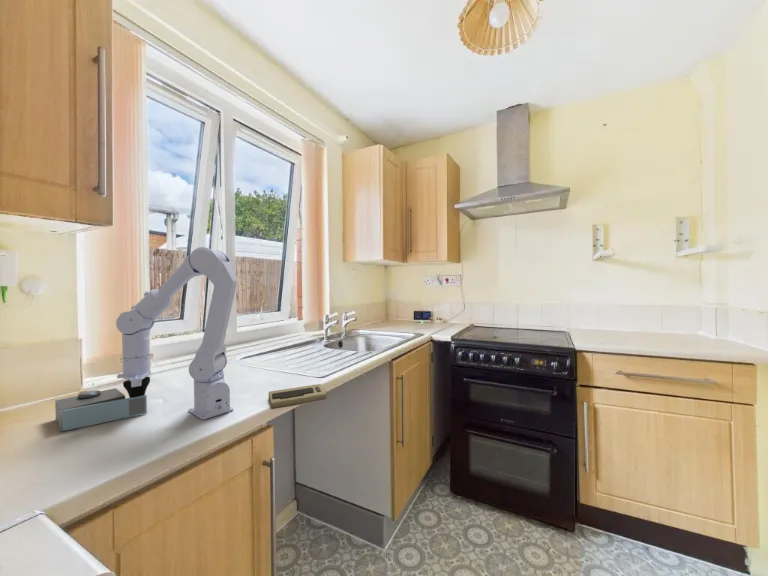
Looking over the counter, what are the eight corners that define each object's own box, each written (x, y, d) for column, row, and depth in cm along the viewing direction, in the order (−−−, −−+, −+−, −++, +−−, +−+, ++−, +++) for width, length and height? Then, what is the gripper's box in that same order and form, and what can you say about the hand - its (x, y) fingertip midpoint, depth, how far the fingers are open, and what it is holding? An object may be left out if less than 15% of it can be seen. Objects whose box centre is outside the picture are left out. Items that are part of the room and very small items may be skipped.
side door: (58, 432, 74) (58, 412, 74) (59, 430, 74) (58, 410, 74) (146, 413, 84) (146, 395, 84) (146, 412, 85) (146, 394, 85)
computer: (271, 410, 87) (271, 398, 87) (268, 400, 95) (268, 389, 95) (326, 401, 94) (326, 390, 94) (320, 392, 102) (320, 382, 101)
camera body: (125, 414, 84) (125, 392, 84) (61, 431, 75) (60, 406, 75) (116, 405, 90) (115, 384, 90) (55, 419, 81) (55, 396, 81)
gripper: (118, 353, 88) (119, 402, 88) (114, 363, 76) (116, 419, 76) (150, 350, 92) (151, 396, 92) (151, 359, 80) (152, 412, 81)
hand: (137, 406), depth 85 cm, fingers closed
